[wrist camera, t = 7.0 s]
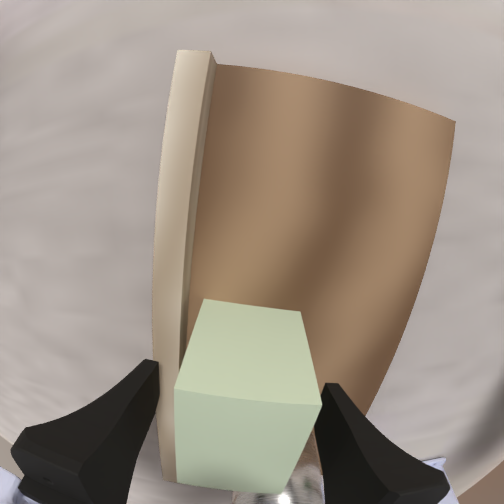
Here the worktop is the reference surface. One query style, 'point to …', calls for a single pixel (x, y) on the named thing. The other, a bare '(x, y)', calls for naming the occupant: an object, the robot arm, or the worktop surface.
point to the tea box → (244, 398)
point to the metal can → (293, 483)
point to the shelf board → (293, 217)
